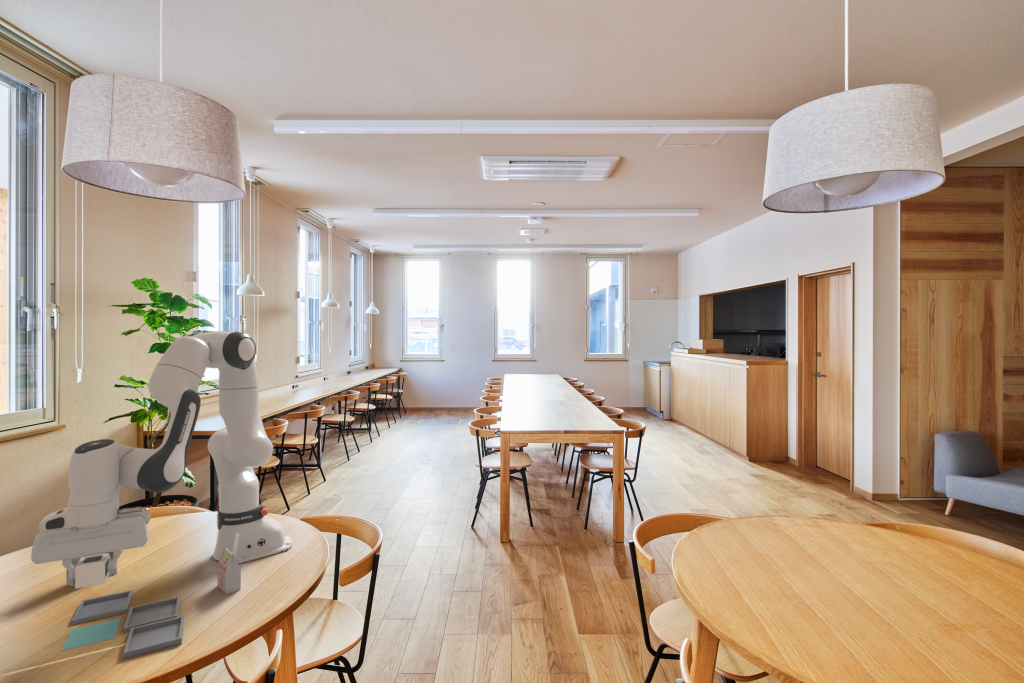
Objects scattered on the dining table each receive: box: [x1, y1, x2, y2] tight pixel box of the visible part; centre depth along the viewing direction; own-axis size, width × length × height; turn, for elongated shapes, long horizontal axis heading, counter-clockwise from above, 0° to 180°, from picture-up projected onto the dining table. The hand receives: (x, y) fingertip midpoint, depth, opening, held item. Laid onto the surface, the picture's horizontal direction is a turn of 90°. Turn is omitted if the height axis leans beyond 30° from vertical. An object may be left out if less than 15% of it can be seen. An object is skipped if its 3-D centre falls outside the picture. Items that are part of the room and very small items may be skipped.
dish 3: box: [122, 615, 185, 660], centre depth 109 cm, size 10×10×1 cm
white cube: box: [74, 553, 109, 590], centre depth 110 cm, size 5×5×5 cm
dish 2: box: [122, 595, 181, 634], centre depth 117 cm, size 10×10×1 cm
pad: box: [60, 617, 122, 652], centre depth 110 cm, size 9×9×1 cm
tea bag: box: [217, 548, 242, 596], centre depth 132 cm, size 4×7×10 cm, turn 47°
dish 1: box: [70, 589, 134, 626], centre depth 120 cm, size 10×10×1 cm
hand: (93, 573), depth 110 cm, fingers closed on white cube, 5 cm apart
